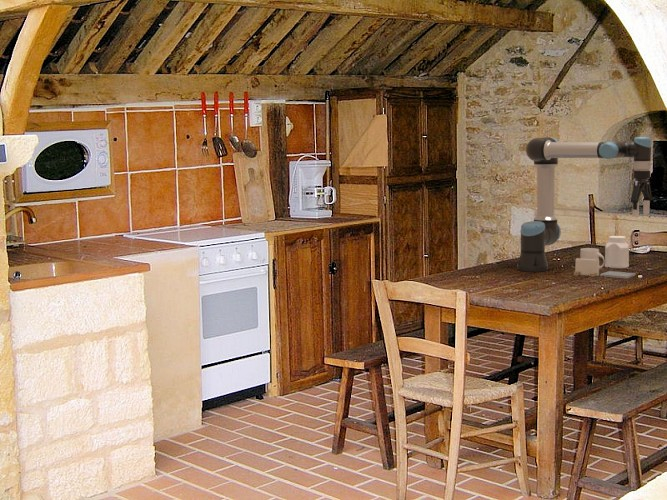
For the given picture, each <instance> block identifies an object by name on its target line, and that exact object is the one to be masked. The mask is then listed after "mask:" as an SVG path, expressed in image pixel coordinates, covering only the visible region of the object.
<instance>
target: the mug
mask: <svg viewBox="0 0 667 500" xmlns="http://www.w3.org/2000/svg"><path fill="white" fill-rule="evenodd" d="M579 257H580V259H593V260H599V261H600V258H601V259H602V260H603V262H602V265H599V270H600V269H602V268H603V267H605V256H604V255H602V254H601V252H600V248H595V247H591V248H590V247H585V248H584V247H583V248H580V256H579ZM599 257H600V258H599Z"/></svg>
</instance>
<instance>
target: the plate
mask: <svg viewBox="0 0 667 500" xmlns="http://www.w3.org/2000/svg"><path fill="white" fill-rule="evenodd" d="M636 275H637V273H636V272H624V271H613V270H609V271H605V272H603V273H599V277H602V276H604V278H614V279H626V280H627V279H630V278H633V277H635V276H636Z"/></svg>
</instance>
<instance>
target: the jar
mask: <svg viewBox="0 0 667 500" xmlns="http://www.w3.org/2000/svg"><path fill="white" fill-rule="evenodd" d="M604 251H605V252H604V267H605V268H608V267H609V269H610V268H613V269H628V268H629V267H630V264H629V261H630V245H629V244H628V243H627V236H624V235H623V236H622V235H610V236H608V242H607V243H606V244H605V246H604Z"/></svg>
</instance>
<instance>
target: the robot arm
mask: <svg viewBox="0 0 667 500" xmlns="http://www.w3.org/2000/svg"><path fill="white" fill-rule="evenodd" d="M525 154H526V156H527V158H528V159H530V160H531V161H533V165H534V166H535V168H536V216H535V217H533V220H532V221H527V222H523V223H522V224H521V225H520V255H519V258H518V260H517V264H516V269H517V271H520V272H521V271H522V272H544V271H548V270H549V264H548V260H547V257H546V255H545V254H546V252H545V251H546V250H545V249H546V246H551V245H553V244H555V243H556V242H558V240H559V239H560V237H561V233H562V231H561V227H560V225H559V224H558V218H557V217H556V215H555V168H556V167H557V166H558V161H559V160H558V159H607V160H611V159H617V158H618V159H619V158H633V170H634V171H633V176H632V177H633V179H636V180H635V181H633V187H632V192H631V198H630V203H632V215H631V216H632V218H634V217H635V218H639V215H640V214H639V213H640V202H639V200H640V197H641V195H642V196H643V199H644V200H643V206H642V207H643V209H642V211H643V212H642V213H643V215H650V203H651V201H652V200H653V198H652V197H653V196H652V191H651V185H650V184H651V183H650V179H651V166H652V162H651V160H652V159H651V158H652V140H651V138H650V137H649V136H636V137H634V139H633V140H632V141H628V140H627V141H626V140H625V141H624V140H622V141H621V140H620V141H619V140H617V141H616V140H615V141H580V142H579V141H558V139H556V138H554V137H548V136H546V137H544V136H543V137H535V138H532V139H531V140H529V142H528V143H527V144H526V147H525Z"/></svg>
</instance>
